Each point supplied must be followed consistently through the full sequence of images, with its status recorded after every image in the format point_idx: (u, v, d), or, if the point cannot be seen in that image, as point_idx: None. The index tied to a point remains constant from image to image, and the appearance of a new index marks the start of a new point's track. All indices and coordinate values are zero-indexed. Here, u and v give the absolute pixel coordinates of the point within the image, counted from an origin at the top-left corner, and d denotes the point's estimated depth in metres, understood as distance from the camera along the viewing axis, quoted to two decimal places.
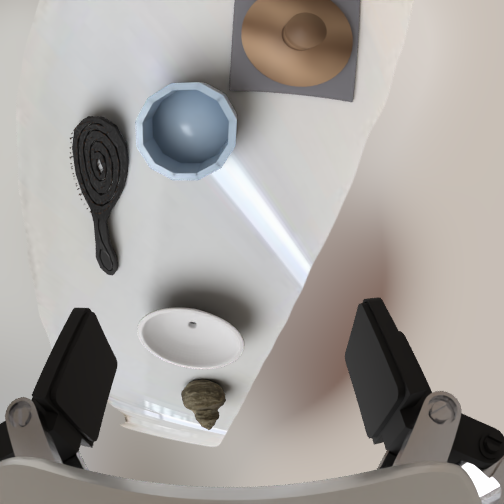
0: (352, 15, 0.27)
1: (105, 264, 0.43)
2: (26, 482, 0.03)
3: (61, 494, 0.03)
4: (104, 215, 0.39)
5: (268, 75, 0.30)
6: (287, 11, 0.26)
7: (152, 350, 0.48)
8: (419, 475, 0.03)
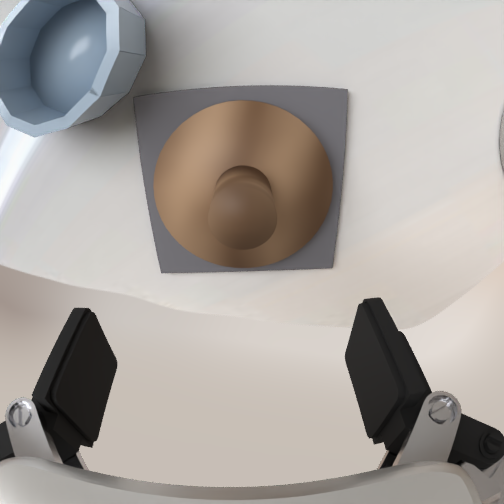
0: (296, 260, 0.26)
1: None
2: (26, 481, 0.03)
3: (61, 494, 0.03)
4: None
5: (162, 154, 0.20)
6: (286, 171, 0.21)
7: None
8: (419, 475, 0.03)
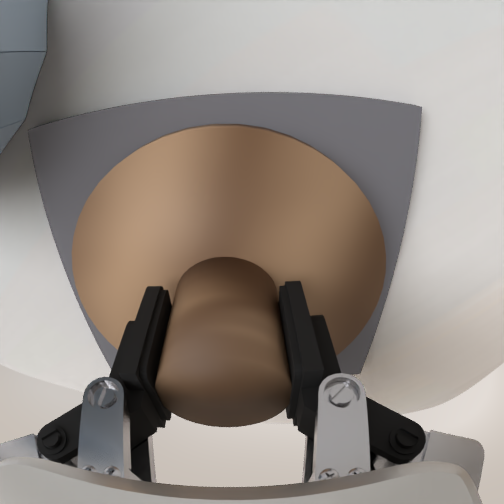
0: None
1: None
2: (26, 482, 0.03)
3: (61, 494, 0.03)
4: None
5: (77, 236, 0.10)
6: (306, 264, 0.11)
7: None
8: (419, 475, 0.03)
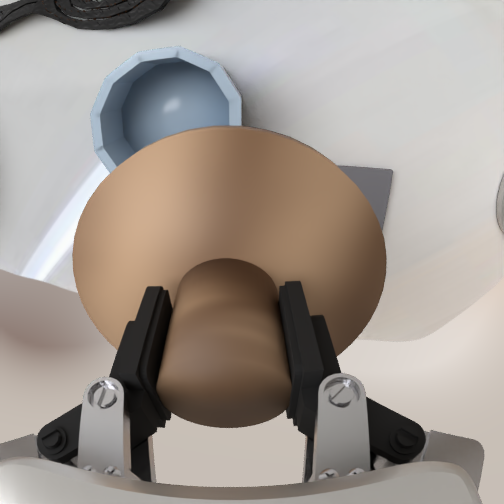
0: None
1: None
2: (26, 481, 0.03)
3: (61, 494, 0.03)
4: (40, 8, 0.15)
5: (78, 238, 0.10)
6: (306, 265, 0.11)
7: None
8: (419, 475, 0.03)
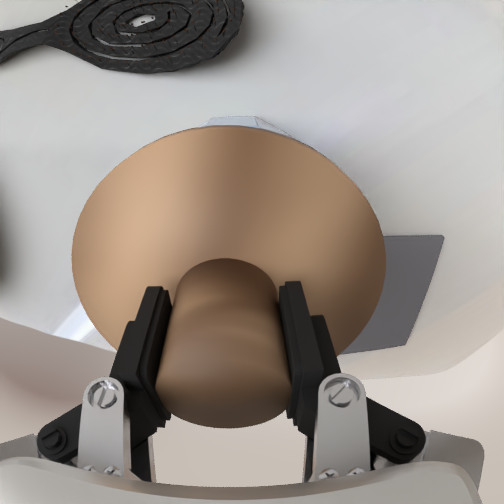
0: (384, 343, 0.32)
1: None
2: (26, 481, 0.03)
3: (61, 494, 0.03)
4: (53, 38, 0.14)
5: (77, 238, 0.10)
6: (305, 265, 0.11)
7: None
8: (419, 475, 0.03)
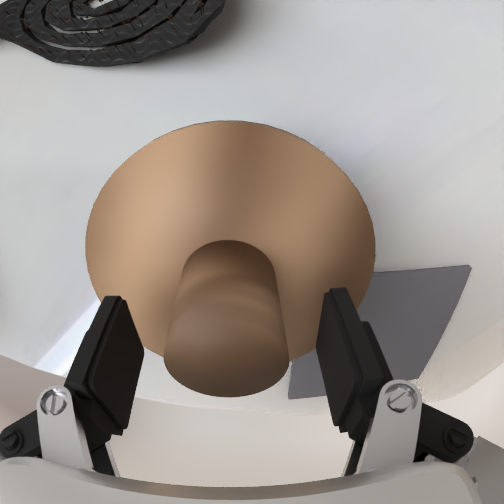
0: (396, 379, 0.28)
1: None
2: (26, 481, 0.03)
3: (61, 494, 0.03)
4: (1, 28, 0.09)
5: (92, 222, 0.11)
6: (301, 247, 0.12)
7: None
8: (419, 475, 0.03)
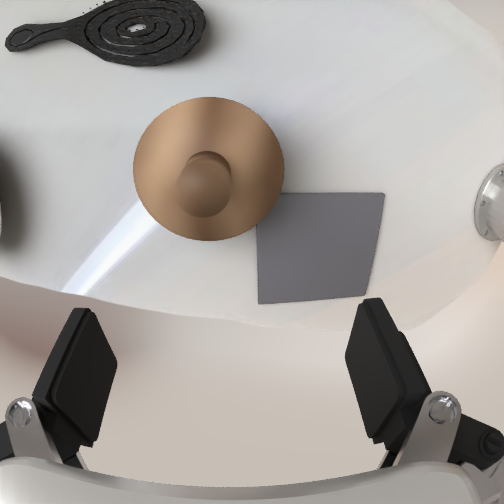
0: (344, 292, 0.40)
1: (16, 36, 0.19)
2: (26, 482, 0.03)
3: (61, 494, 0.03)
4: (71, 35, 0.20)
5: (140, 144, 0.23)
6: (242, 154, 0.24)
7: None
8: (419, 475, 0.03)
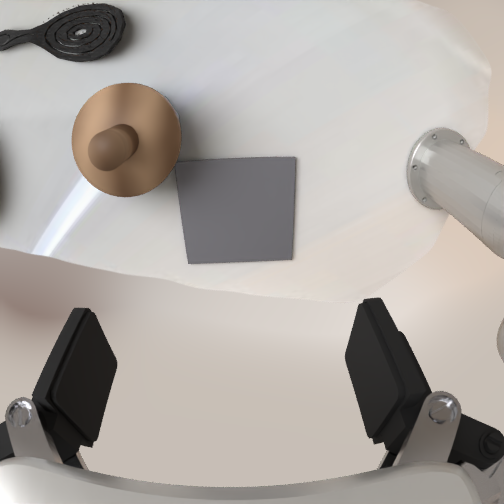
0: (269, 255, 0.44)
1: None
2: (25, 481, 0.03)
3: (61, 494, 0.03)
4: (35, 39, 0.24)
5: (75, 123, 0.27)
6: (146, 124, 0.28)
7: None
8: (419, 475, 0.03)
